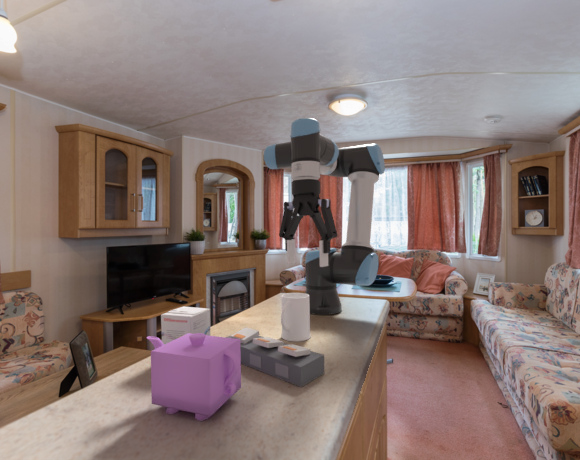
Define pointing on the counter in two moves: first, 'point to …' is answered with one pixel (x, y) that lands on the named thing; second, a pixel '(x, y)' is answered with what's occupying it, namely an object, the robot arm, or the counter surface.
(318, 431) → the counter surface
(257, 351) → the power strip
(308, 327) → the mug
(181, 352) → the teapot
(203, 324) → the ink box
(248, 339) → the rocker
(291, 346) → the rocker
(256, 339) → the rocker
